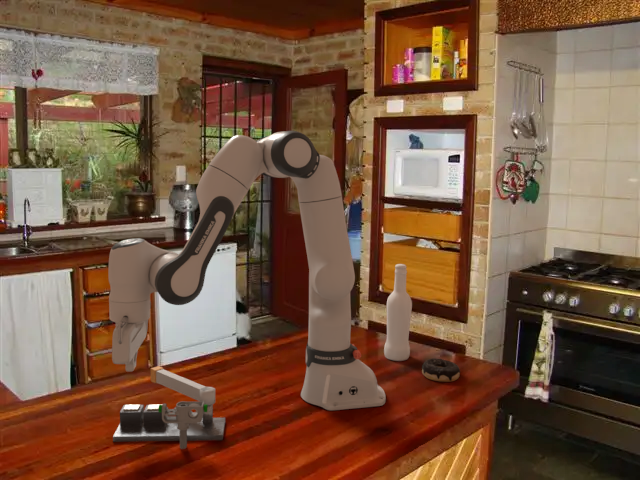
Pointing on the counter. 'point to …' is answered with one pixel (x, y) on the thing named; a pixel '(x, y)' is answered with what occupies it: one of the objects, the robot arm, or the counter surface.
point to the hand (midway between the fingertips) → (131, 369)
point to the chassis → (174, 430)
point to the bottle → (398, 318)
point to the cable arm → (183, 385)
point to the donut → (440, 370)
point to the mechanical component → (183, 416)
